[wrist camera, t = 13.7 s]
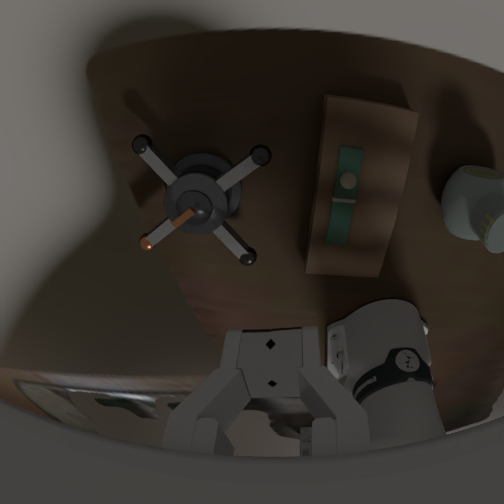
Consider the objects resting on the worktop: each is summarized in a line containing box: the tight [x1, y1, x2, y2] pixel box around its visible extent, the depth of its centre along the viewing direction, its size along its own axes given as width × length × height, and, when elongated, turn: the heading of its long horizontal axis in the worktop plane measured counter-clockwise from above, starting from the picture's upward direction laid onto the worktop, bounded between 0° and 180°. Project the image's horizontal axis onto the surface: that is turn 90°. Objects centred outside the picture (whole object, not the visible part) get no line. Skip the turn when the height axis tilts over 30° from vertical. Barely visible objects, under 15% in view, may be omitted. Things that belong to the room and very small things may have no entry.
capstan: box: [132, 134, 272, 265], centre depth 34 cm, size 20×20×5 cm
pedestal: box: [166, 152, 242, 219], centre depth 37 cm, size 9×9×1 cm
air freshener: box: [441, 165, 504, 253], centre depth 29 cm, size 11×8×10 cm
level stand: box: [304, 94, 419, 278], centre depth 34 cm, size 22×10×4 cm, turn 179°
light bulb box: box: [300, 427, 312, 456], centre depth 71 cm, size 11×7×11 cm, turn 98°
